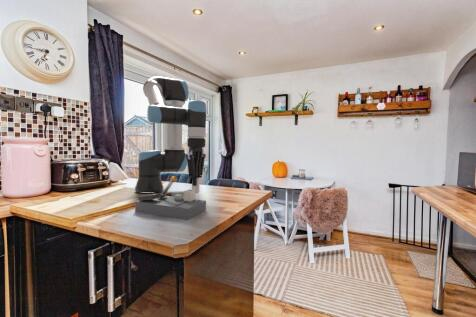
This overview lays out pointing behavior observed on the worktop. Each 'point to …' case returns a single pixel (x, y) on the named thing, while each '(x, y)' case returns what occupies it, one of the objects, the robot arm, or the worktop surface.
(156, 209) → the grey rectangular base
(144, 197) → the rocker
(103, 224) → the worktop surface
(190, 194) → the slider
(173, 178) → the lever
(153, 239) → the worktop surface
